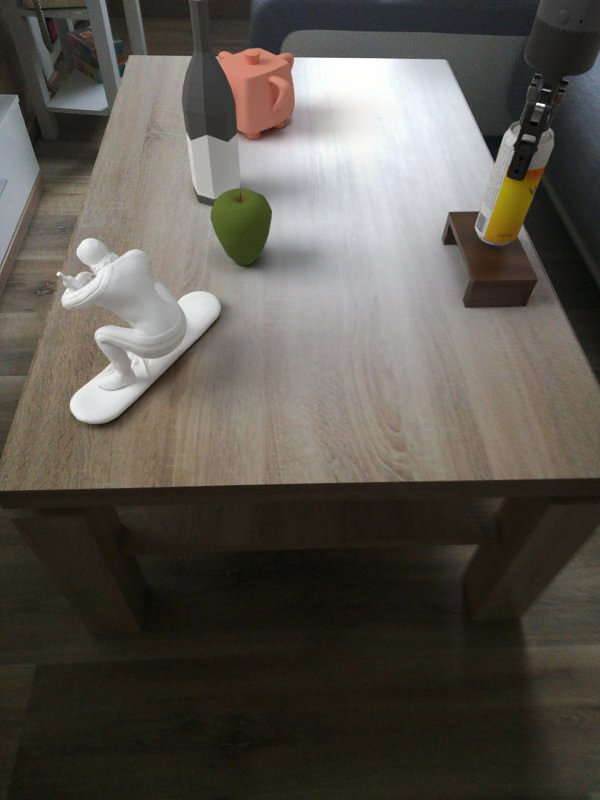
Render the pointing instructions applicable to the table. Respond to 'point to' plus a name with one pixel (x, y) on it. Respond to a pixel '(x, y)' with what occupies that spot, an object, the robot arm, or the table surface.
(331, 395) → the table surface
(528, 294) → the shelf
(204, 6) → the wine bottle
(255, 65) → the teapot
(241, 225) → the apple
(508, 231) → the beer can
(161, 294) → the figurine
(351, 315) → the table surface
